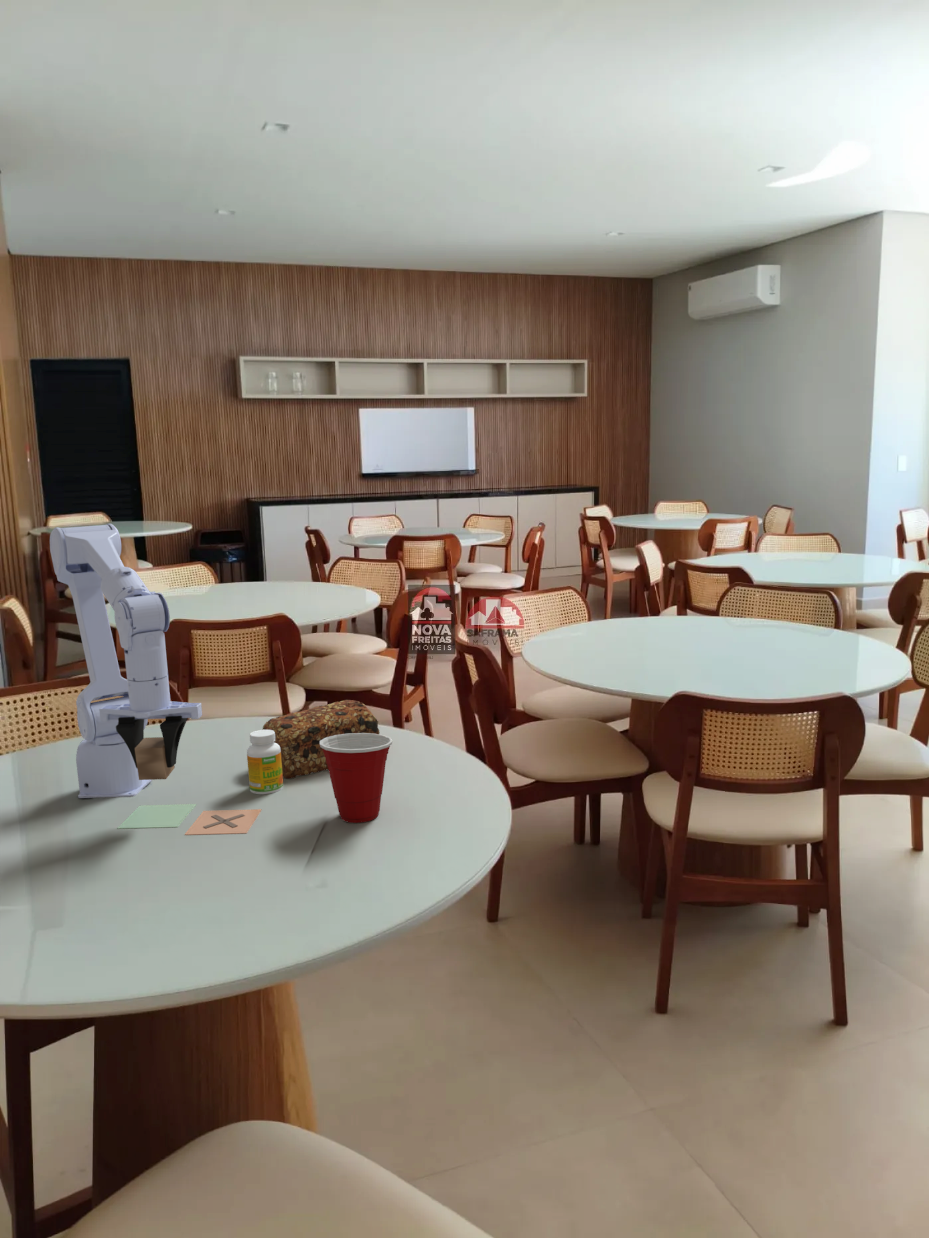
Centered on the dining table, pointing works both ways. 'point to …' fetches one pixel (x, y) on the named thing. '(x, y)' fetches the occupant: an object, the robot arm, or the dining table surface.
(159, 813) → the tile
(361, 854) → the dining table surface
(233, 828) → the tile
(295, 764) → the bread
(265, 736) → the supplement bottle
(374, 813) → the plastic cup
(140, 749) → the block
